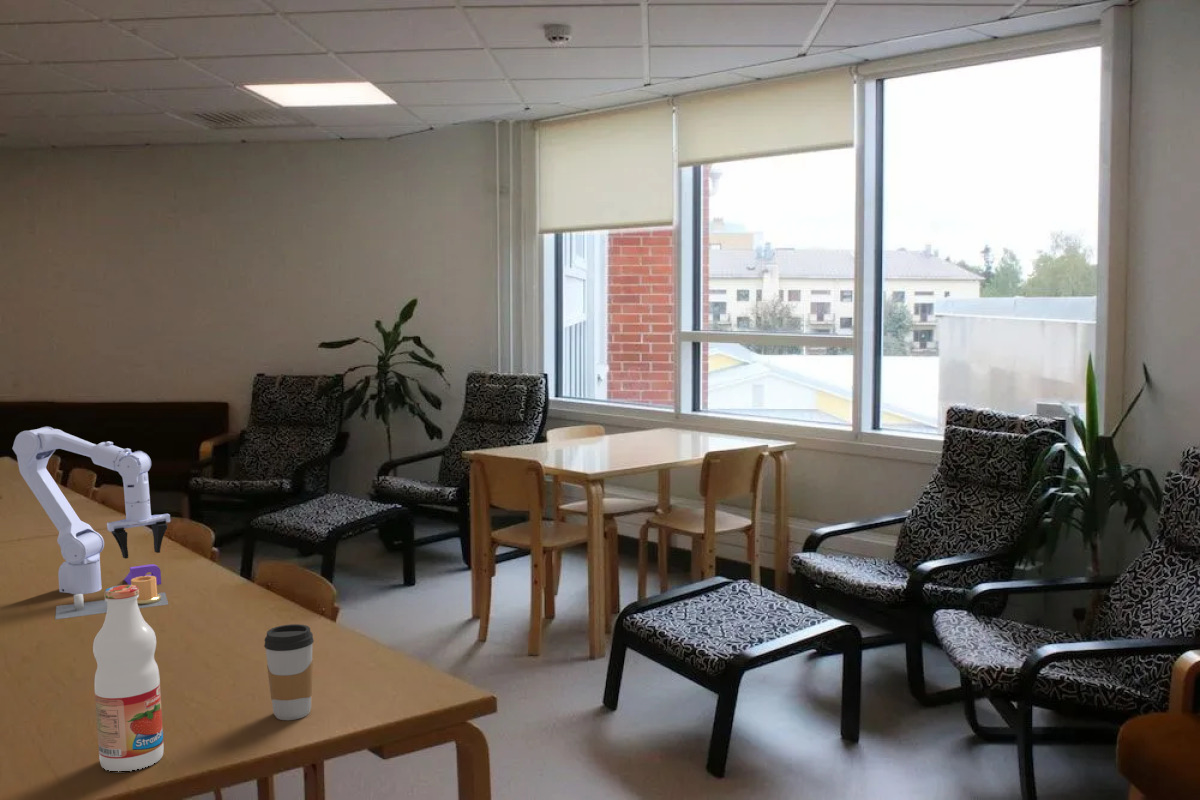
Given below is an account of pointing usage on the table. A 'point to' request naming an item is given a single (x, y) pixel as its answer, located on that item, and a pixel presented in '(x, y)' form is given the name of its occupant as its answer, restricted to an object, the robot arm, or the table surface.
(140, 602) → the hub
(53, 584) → the table surface
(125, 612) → the fruit juice
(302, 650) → the coffee cup
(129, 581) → the bracket
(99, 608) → the board
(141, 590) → the sleeve
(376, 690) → the table surface
